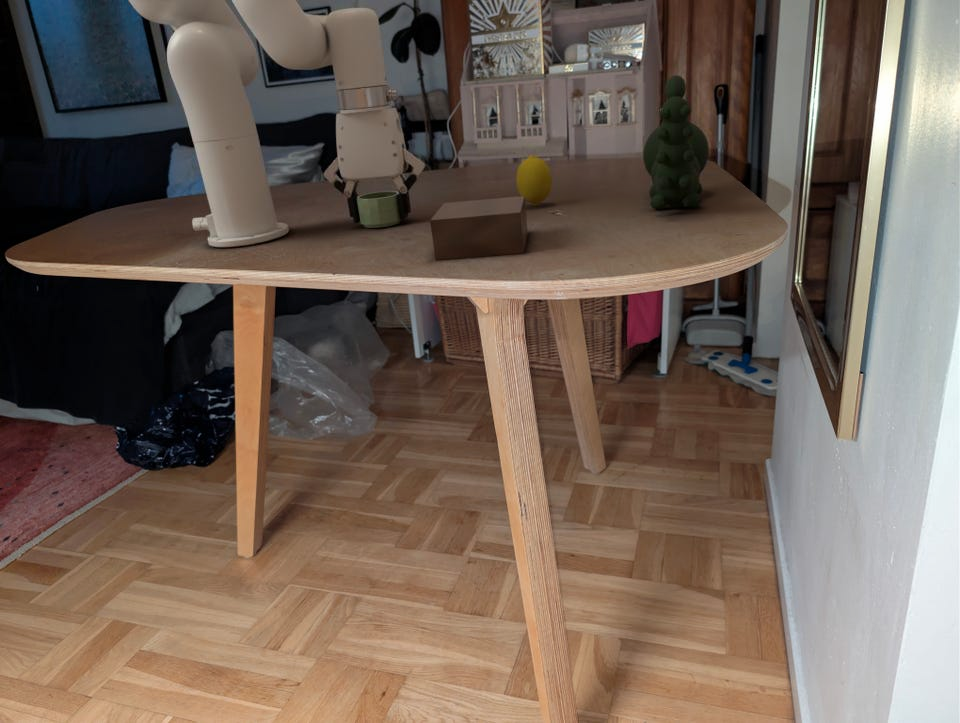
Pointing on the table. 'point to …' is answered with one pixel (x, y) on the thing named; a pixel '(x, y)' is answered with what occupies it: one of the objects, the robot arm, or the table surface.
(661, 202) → the toy figurine
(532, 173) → the lemon
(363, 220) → the bowl
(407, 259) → the table surface
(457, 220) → the stand
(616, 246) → the table surface
